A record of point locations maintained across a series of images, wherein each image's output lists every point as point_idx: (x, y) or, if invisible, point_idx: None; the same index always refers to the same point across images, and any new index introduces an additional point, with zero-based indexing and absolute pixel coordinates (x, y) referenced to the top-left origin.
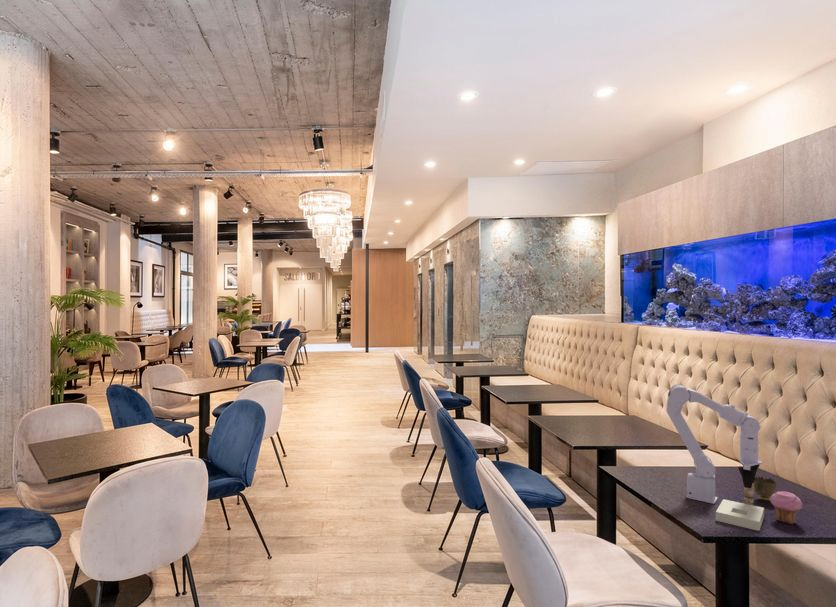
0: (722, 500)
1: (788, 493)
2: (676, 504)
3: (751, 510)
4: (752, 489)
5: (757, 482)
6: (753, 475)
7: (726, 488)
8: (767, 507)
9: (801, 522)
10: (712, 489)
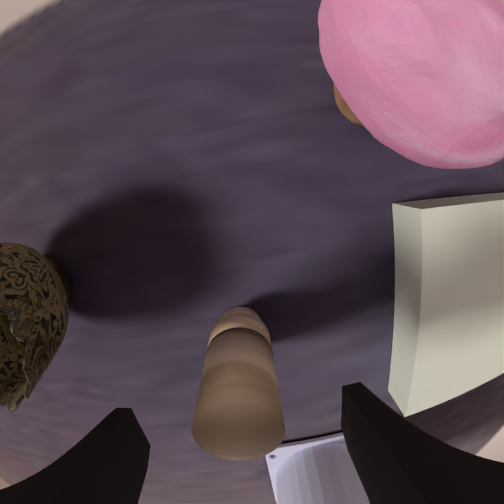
0: (429, 407)
1: (492, 4)
2: None
3: (501, 256)
4: (257, 375)
5: (36, 374)
6: (489, 463)
7: (69, 434)
8: (174, 232)
9: (314, 24)
10: (360, 484)
